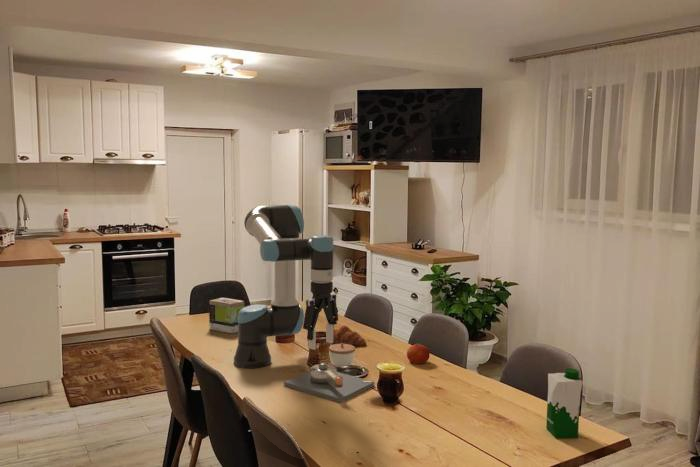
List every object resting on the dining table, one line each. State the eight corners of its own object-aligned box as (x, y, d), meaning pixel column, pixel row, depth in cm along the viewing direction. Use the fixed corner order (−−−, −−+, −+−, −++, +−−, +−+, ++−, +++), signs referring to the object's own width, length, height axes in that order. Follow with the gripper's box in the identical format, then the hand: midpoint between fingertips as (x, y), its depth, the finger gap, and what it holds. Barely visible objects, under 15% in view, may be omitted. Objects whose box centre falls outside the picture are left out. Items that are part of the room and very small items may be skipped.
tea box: (245, 329, 296) (245, 300, 294) (230, 334, 287) (230, 304, 286) (223, 325, 304) (222, 296, 302) (208, 329, 295) (208, 299, 294)
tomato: (403, 363, 249) (404, 344, 248) (411, 357, 257) (412, 339, 256) (424, 367, 244) (425, 348, 244) (432, 361, 253) (432, 342, 252)
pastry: (356, 337, 287) (356, 321, 286) (367, 346, 272) (367, 329, 272) (322, 339, 282) (322, 323, 281) (331, 349, 267) (332, 331, 266)
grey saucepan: (305, 376, 226) (305, 361, 225) (329, 372, 230) (330, 358, 229) (326, 396, 206) (327, 380, 206) (353, 392, 210) (353, 376, 210)
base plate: (284, 385, 221) (284, 381, 220) (319, 370, 237) (319, 366, 237) (340, 402, 205) (340, 398, 205) (374, 385, 222) (374, 381, 222)
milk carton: (582, 439, 181) (586, 375, 179) (553, 440, 180) (557, 375, 178) (569, 427, 189) (573, 365, 187) (541, 427, 189) (545, 366, 186)
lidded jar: (351, 371, 238) (352, 348, 237) (325, 368, 240) (326, 346, 239) (357, 362, 248) (357, 340, 247) (331, 360, 250) (332, 338, 249)
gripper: (309, 287, 192) (308, 355, 194) (349, 278, 210) (348, 340, 212) (292, 284, 196) (291, 350, 199) (332, 275, 214) (331, 336, 216)
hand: (320, 345), depth 205 cm, fingers open, 9 cm apart
